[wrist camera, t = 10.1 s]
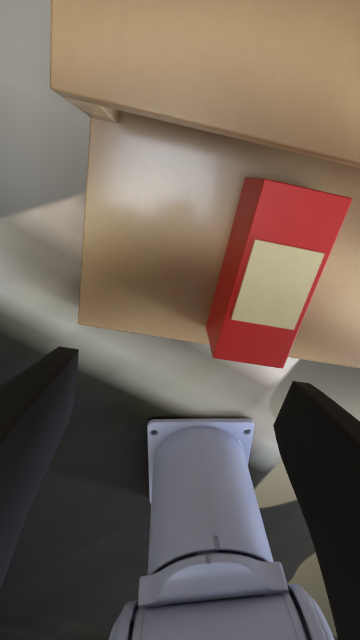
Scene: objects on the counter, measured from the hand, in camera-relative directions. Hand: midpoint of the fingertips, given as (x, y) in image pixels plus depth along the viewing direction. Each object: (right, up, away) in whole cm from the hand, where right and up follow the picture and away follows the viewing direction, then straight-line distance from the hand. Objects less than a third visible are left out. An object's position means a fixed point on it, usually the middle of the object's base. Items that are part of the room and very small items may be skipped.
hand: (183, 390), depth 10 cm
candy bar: (+4, +5, +6) cm, 9 cm away
